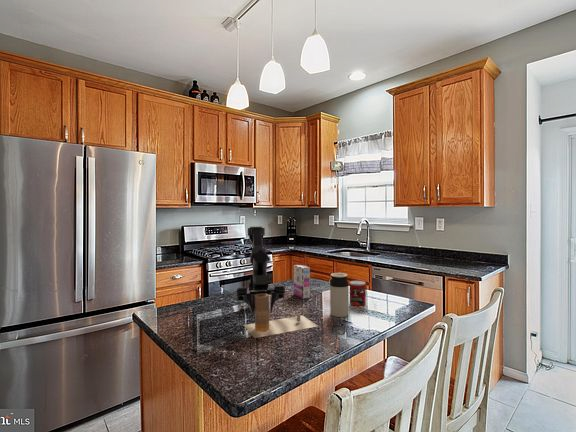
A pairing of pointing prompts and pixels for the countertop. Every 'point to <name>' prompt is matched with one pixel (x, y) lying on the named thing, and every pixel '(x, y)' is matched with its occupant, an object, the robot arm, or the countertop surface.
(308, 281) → the candy bar box
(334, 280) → the travel mug
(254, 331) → the pin board
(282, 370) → the countertop surface
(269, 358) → the countertop surface
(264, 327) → the sleeve
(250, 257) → the robot arm
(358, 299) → the canned food
